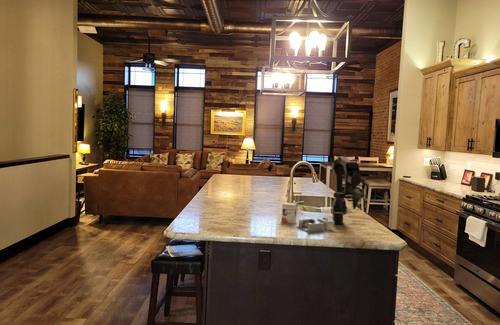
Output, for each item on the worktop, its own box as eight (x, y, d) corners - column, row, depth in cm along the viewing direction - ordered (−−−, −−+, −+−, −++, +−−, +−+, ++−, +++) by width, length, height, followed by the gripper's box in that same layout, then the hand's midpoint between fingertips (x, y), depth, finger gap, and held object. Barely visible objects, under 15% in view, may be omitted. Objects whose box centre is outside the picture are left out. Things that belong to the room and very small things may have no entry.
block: (319, 226, 229) (319, 220, 228) (323, 226, 230) (323, 220, 230) (327, 229, 221) (327, 224, 221) (331, 229, 223) (331, 223, 222)
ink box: (281, 221, 237) (281, 203, 237) (283, 220, 242) (284, 202, 241) (294, 223, 234) (295, 204, 233) (296, 221, 239) (297, 203, 238)
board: (317, 220, 228) (317, 216, 228) (325, 220, 231) (325, 216, 231) (326, 224, 220) (326, 220, 220) (334, 223, 223) (334, 219, 222)
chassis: (296, 227, 224) (297, 219, 224) (312, 226, 229) (312, 218, 228) (309, 233, 212) (310, 224, 211) (325, 232, 216) (326, 223, 216)
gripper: (346, 185, 206) (344, 213, 207) (372, 184, 214) (370, 211, 216) (333, 182, 216) (332, 209, 217) (358, 181, 224) (356, 207, 225)
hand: (348, 209), depth 219 cm, fingers open, 9 cm apart
